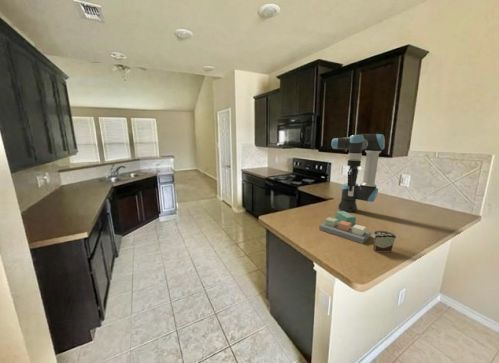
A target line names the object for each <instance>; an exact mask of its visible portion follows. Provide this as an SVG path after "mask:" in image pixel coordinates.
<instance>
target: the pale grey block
mask: <svg viewBox="0 0 499 363" xmlns="http://www.w3.org/2000/svg"><path fill="white" fill-rule="evenodd" d="M366 229H367V227H366V226H364V225H359V224H356V223H355V226H353V228H352V233H354V234H357V235H359V236H363V235H364V234H365V231H367V230H366Z"/></svg>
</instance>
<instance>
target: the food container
mask: <svg viewBox="0 0 499 363" xmlns="http://www.w3.org/2000/svg"><path fill="white" fill-rule="evenodd" d="M372 238H373V251H374V252H377V253H378V252H381V253H383V252H387V253H388V252H392V250H393V247H394V244H395V239H397V235H396V234H395V233H393V232H390V231H386V230H375V231H374V232H373V234H372Z"/></svg>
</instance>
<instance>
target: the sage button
mask: <svg viewBox="0 0 499 363" xmlns="http://www.w3.org/2000/svg"><path fill="white" fill-rule="evenodd" d="M324 223H325V225H327V226H331V227H335V226H336V225H337V223H338V219H335V217H330V216H329V217H327V218H325V220H324Z"/></svg>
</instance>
